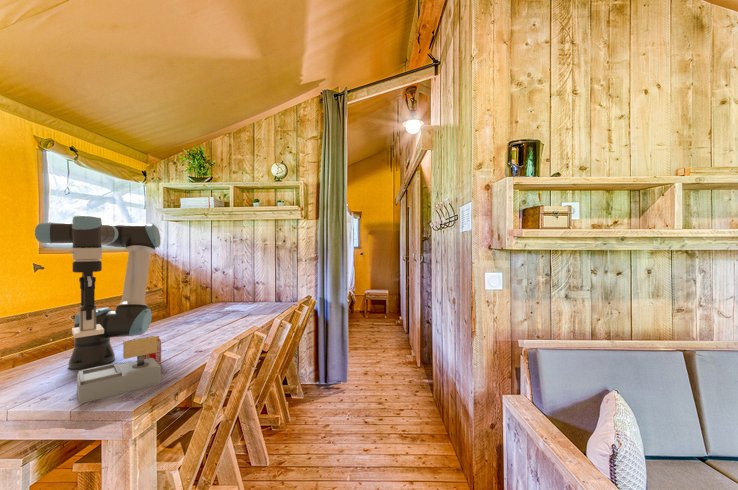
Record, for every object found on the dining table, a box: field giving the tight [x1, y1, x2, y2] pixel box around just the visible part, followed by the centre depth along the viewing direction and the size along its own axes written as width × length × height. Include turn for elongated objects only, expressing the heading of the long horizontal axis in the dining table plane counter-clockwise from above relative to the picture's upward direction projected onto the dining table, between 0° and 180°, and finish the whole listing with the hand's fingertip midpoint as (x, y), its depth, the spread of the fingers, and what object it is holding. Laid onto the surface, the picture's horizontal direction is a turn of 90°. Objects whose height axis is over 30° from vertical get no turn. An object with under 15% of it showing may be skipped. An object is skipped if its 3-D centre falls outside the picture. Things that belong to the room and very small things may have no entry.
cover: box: [71, 304, 104, 338], centre depth 108 cm, size 10×7×10 cm
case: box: [76, 358, 162, 405], centre depth 111 cm, size 14×22×7 cm, turn 135°
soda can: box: [144, 335, 162, 365], centre depth 131 cm, size 7×7×12 cm
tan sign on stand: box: [122, 335, 158, 366], centre depth 116 cm, size 2×10×10 cm, turn 135°
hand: (87, 327), depth 108 cm, fingers closed on cover, 4 cm apart
